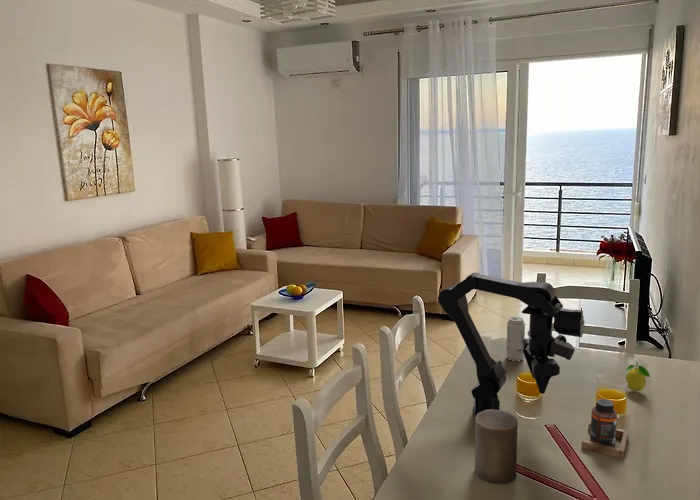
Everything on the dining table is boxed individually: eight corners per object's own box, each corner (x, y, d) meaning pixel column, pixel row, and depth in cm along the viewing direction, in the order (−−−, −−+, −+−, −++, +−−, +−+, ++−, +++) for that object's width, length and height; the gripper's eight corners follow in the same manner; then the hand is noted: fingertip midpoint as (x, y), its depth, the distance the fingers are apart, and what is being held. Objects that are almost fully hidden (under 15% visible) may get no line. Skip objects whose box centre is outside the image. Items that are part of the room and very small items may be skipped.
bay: (581, 448, 137) (581, 441, 136) (588, 428, 146) (589, 422, 145) (623, 459, 132) (623, 451, 131) (627, 438, 141) (628, 431, 140)
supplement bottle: (620, 447, 137) (623, 406, 135) (600, 451, 135) (603, 409, 133) (603, 435, 143) (606, 395, 140) (584, 438, 141) (587, 398, 139)
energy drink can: (520, 363, 189) (522, 322, 186) (504, 360, 193) (505, 320, 190) (525, 357, 194) (527, 317, 191) (509, 354, 197) (510, 315, 194)
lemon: (648, 398, 162) (650, 366, 160) (626, 395, 164) (628, 364, 162) (644, 388, 168) (646, 358, 166) (623, 386, 170) (625, 356, 168)
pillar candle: (524, 479, 125) (527, 419, 122) (487, 488, 122) (488, 427, 120) (501, 457, 134) (503, 401, 131) (466, 464, 132) (467, 407, 129)
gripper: (582, 344, 132) (579, 402, 135) (563, 319, 151) (560, 371, 154) (535, 343, 134) (533, 401, 137) (522, 319, 152) (520, 370, 155)
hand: (538, 385), depth 146 cm, fingers open, 9 cm apart
